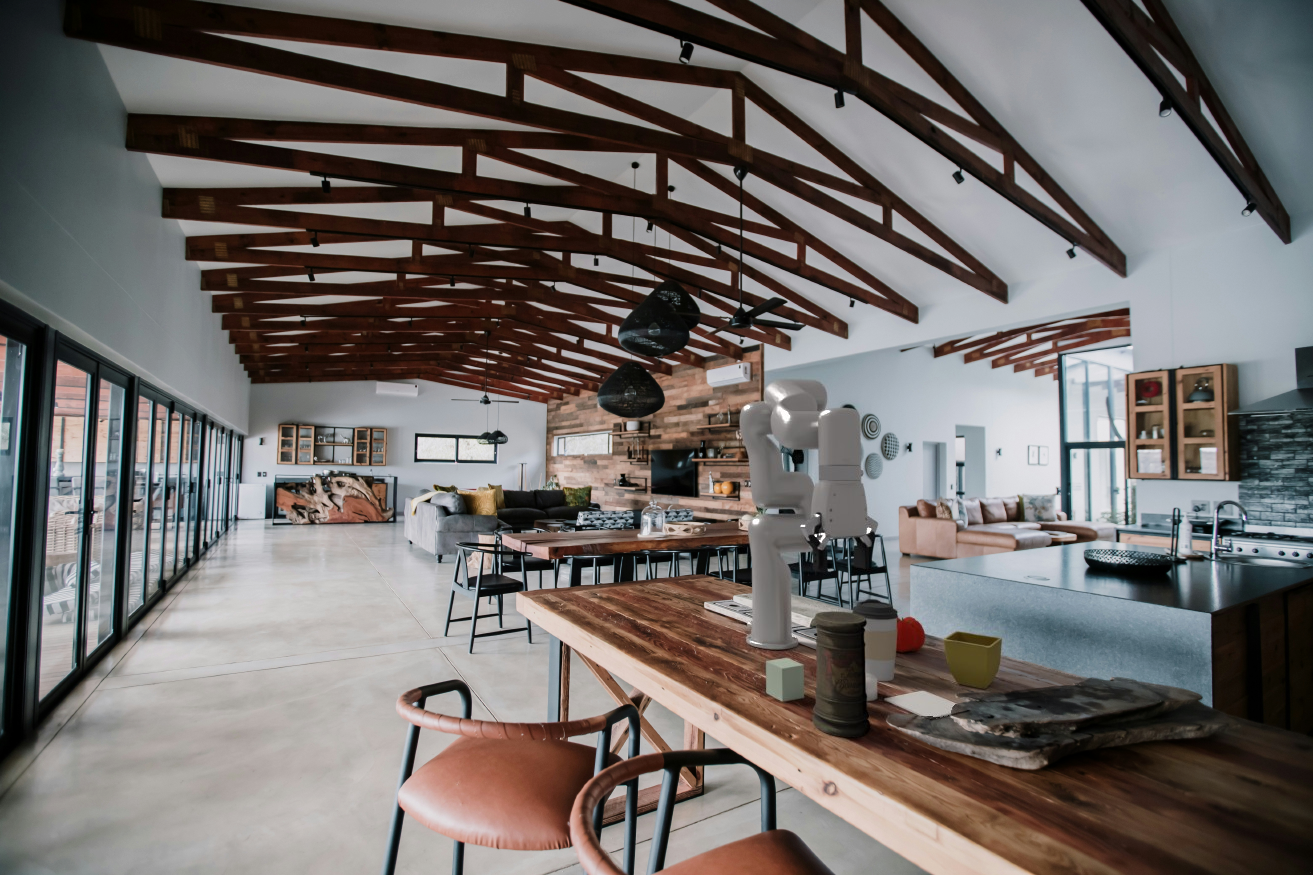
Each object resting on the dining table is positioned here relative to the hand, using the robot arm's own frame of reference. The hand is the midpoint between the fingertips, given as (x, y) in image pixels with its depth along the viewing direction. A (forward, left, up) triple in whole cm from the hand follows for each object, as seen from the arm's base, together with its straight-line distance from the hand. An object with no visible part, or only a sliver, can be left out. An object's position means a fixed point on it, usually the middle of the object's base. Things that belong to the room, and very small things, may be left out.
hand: (841, 569), depth 111 cm
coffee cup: (-10, +18, -24) cm, 32 cm away
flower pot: (+2, +32, -25) cm, 40 cm away
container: (+7, -6, -24) cm, 26 cm away
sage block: (-9, -6, -24) cm, 27 cm away
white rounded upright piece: (-3, +7, -24) cm, 26 cm away
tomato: (-21, +38, -25) cm, 50 cm away
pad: (+6, +14, -24) cm, 29 cm away
